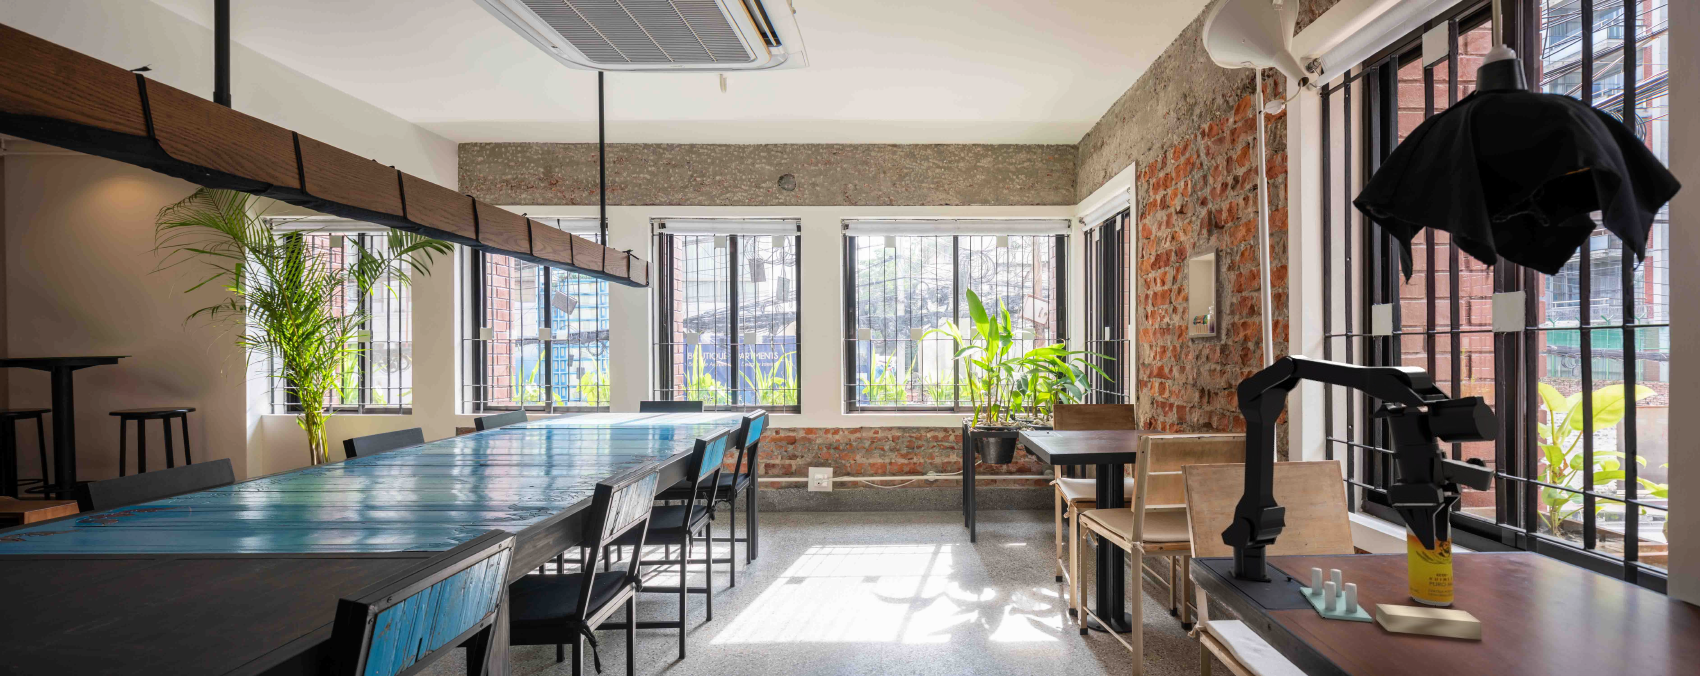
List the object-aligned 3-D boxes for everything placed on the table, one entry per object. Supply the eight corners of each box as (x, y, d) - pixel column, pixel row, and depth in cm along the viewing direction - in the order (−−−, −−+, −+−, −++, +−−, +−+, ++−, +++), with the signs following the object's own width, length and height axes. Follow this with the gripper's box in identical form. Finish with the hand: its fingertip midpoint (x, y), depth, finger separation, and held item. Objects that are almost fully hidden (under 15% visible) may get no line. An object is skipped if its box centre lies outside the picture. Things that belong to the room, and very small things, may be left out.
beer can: (1436, 608, 120) (1433, 520, 121) (1400, 597, 126) (1397, 513, 126) (1462, 604, 122) (1458, 517, 122) (1425, 593, 128) (1422, 510, 128)
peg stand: (1300, 590, 131) (1299, 563, 131) (1344, 593, 128) (1343, 566, 128) (1322, 617, 118) (1321, 587, 118) (1372, 621, 115) (1371, 591, 115)
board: (1388, 633, 111) (1387, 614, 112) (1376, 621, 116) (1375, 603, 116) (1481, 641, 107) (1481, 622, 108) (1466, 629, 112) (1465, 610, 112)
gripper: (1470, 444, 100) (1496, 557, 97) (1491, 438, 112) (1515, 538, 109) (1376, 448, 108) (1397, 553, 106) (1405, 443, 120) (1425, 536, 118)
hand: (1437, 545), depth 109 cm, fingers open, 9 cm apart
